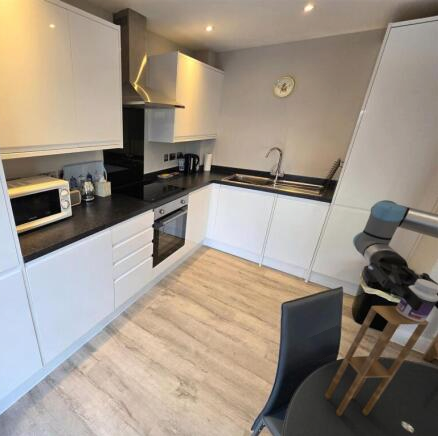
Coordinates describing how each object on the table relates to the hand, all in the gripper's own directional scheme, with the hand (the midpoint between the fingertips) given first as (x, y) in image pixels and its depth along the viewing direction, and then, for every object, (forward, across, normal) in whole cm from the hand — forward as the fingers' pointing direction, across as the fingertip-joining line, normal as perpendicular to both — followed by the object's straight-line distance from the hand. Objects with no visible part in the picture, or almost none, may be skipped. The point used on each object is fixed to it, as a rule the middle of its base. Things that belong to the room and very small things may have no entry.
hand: (435, 310), depth 56 cm
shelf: (-5, +2, -6) cm, 8 cm away
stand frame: (-4, +2, -44) cm, 44 cm away
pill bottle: (-5, 0, -6) cm, 8 cm away
